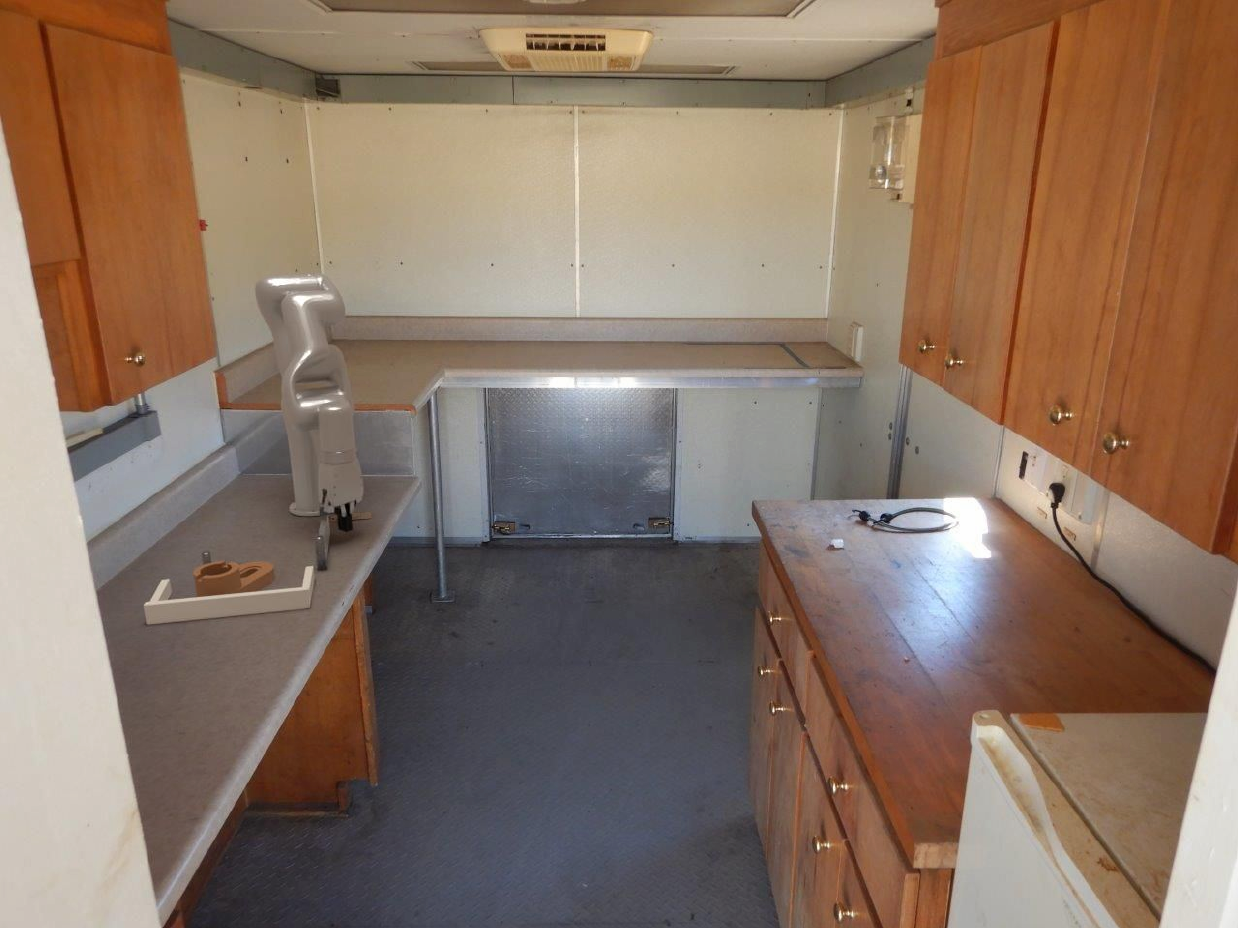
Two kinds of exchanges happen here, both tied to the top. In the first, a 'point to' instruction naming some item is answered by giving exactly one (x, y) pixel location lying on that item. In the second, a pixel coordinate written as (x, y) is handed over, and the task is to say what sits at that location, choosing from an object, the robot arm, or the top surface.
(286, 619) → the top surface
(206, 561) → the post
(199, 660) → the top surface
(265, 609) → the white u-shaped frame
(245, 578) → the bracket
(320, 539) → the hinge post
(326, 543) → the gate
